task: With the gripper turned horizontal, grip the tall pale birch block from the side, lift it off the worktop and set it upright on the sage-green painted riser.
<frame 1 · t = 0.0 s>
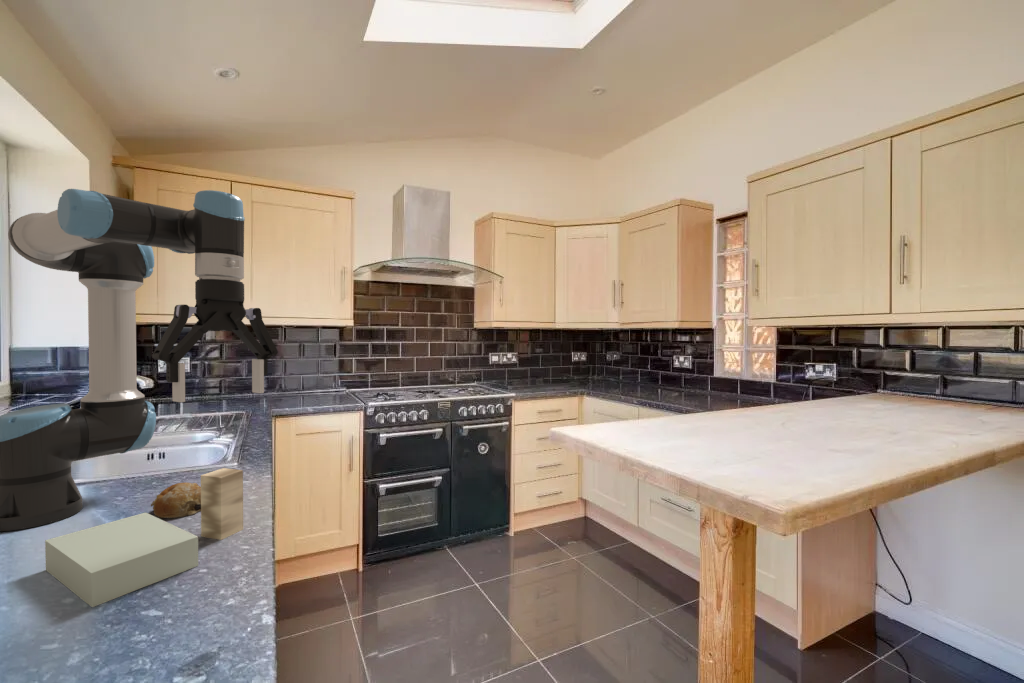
hand: (221, 397, 84), 28 cm above the counter, tool pointing down, fingers open, 13 cm apart
birch block: (222, 532, 92), on the counter
bread roll: (179, 512, 103), on the counter
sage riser: (122, 567, 78), on the counter
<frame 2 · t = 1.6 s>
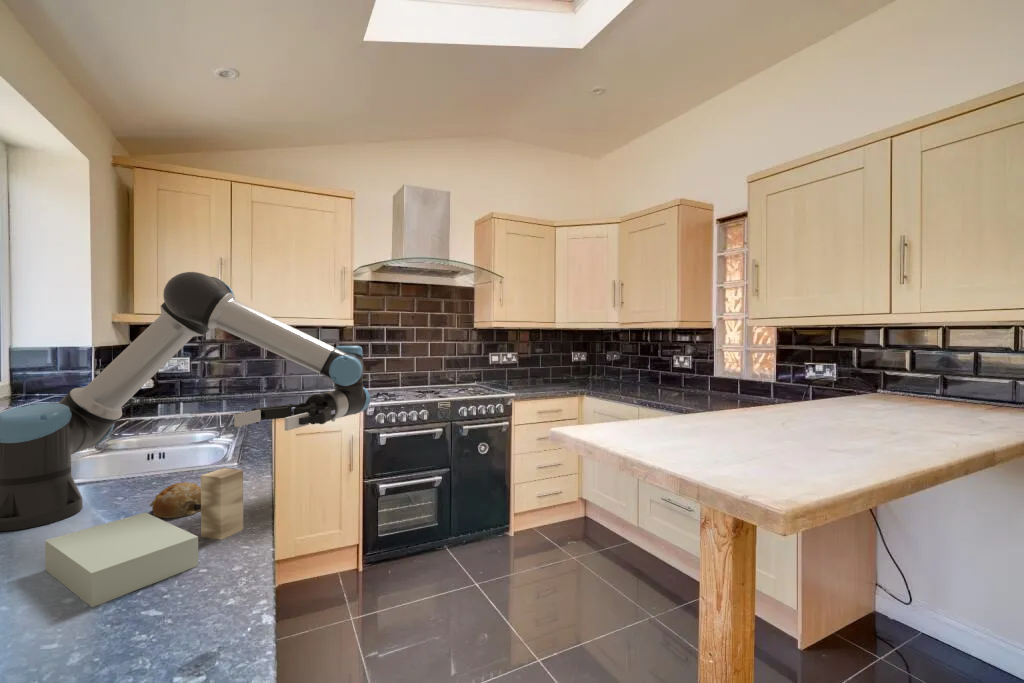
hand: (260, 422, 100), 20 cm above the counter, tool horizontal, fingers open, 13 cm apart
nothing on the counter moved.
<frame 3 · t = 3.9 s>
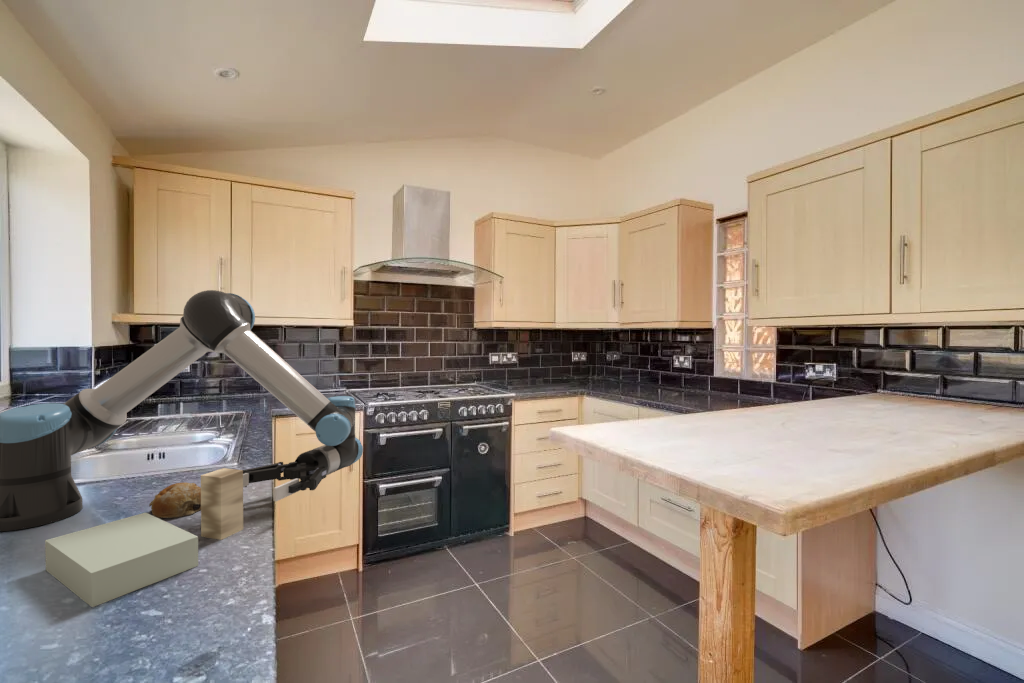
hand: (248, 491, 97), 6 cm above the counter, tool horizontal, fingers open, 13 cm apart
nothing on the counter moved.
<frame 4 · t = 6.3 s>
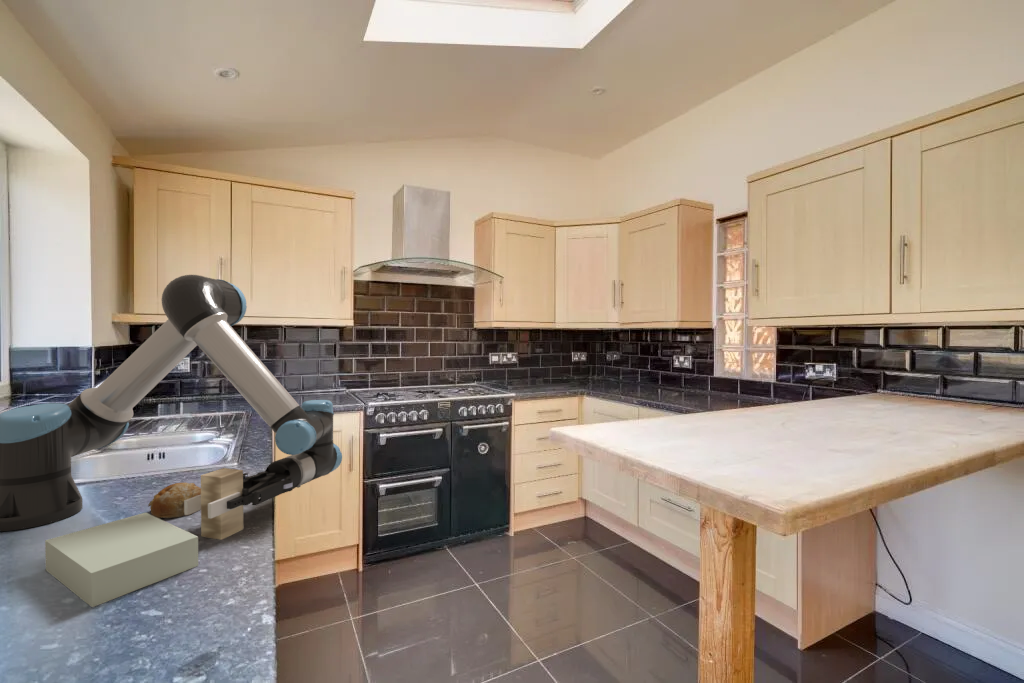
hand: (197, 509, 86), 7 cm above the counter, tool horizontal, fingers closed on birch block, 5 cm apart
birch block: (222, 532, 92), on the counter, touching gripper
everything else where it was.
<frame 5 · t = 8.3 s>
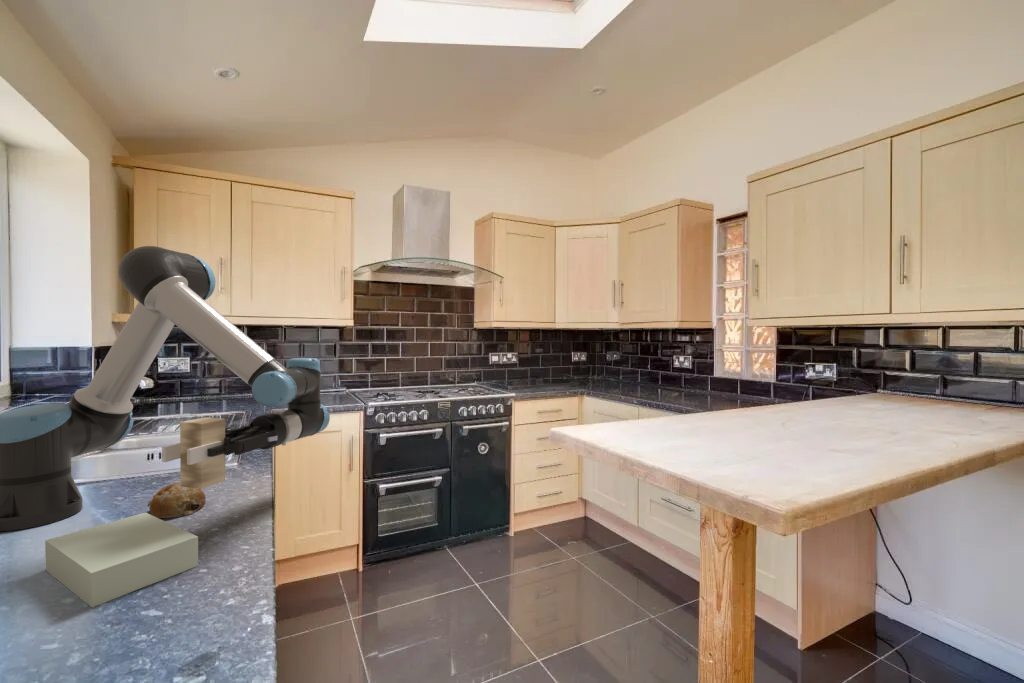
hand: (176, 455, 82), 18 cm above the counter, tool horizontal, fingers closed on birch block, 5 cm apart
birch block: (203, 483, 88), point 11 cm above the counter, touching gripper
everything else where it was.
when the fingers open (13 cm above the counter, at t = 10.4 s): birch block drops 1 cm, resting on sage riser.
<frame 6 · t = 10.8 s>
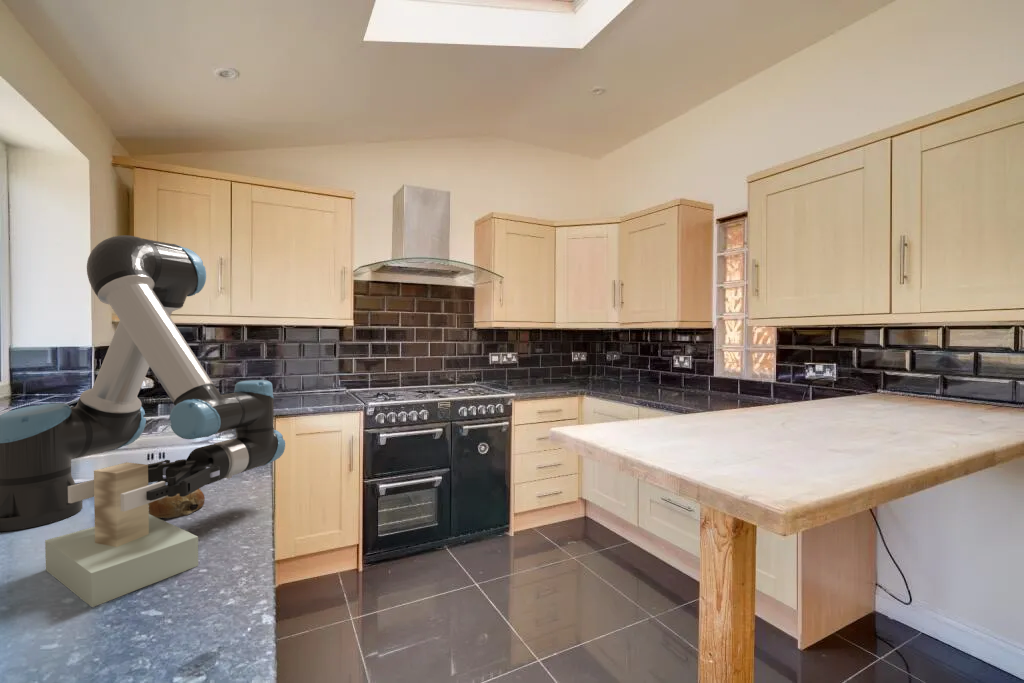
hand: (95, 498, 74), 13 cm above the counter, tool horizontal, fingers open, 11 cm apart
birch block: (122, 538, 78), point 5 cm above the counter, touching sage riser
everything else where it was.
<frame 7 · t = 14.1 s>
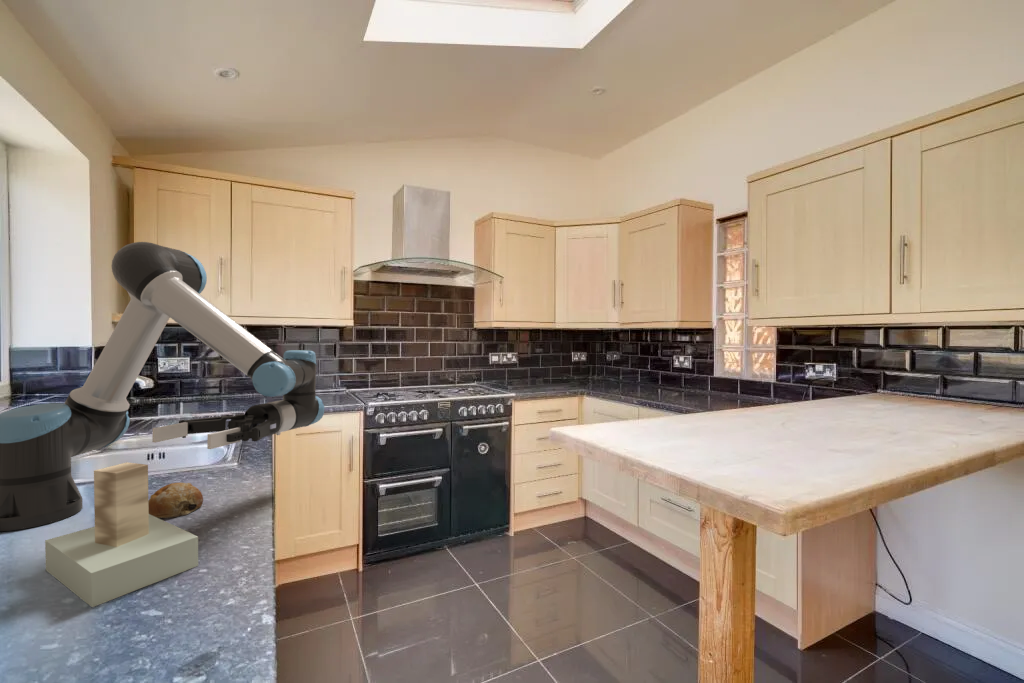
hand: (180, 438, 87), 20 cm above the counter, tool horizontal, fingers open, 13 cm apart
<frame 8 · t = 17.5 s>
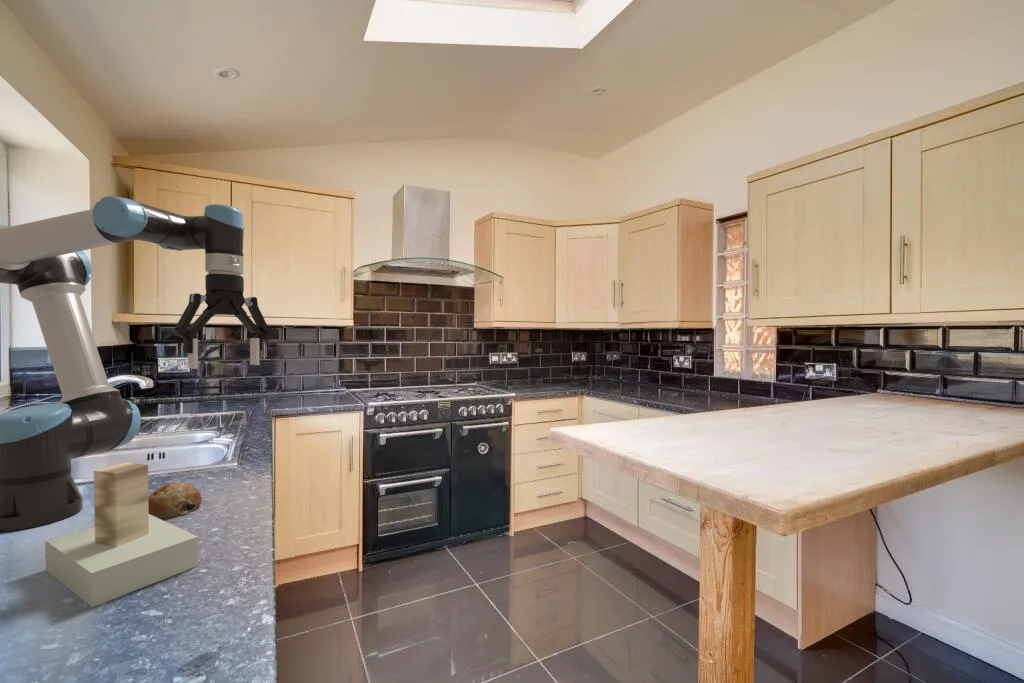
hand: (225, 366, 107), 32 cm above the counter, tool pointing down, fingers open, 13 cm apart
at the end: birch block inside the target area on the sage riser (0.0 cm from its centre), point 5.0 cm above the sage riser's base; birch block tilted 0°; the gripper is holding nothing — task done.
